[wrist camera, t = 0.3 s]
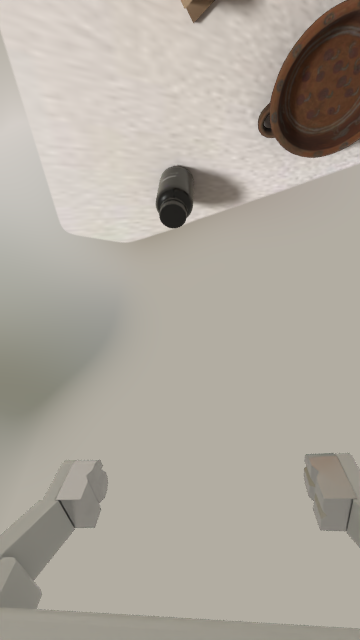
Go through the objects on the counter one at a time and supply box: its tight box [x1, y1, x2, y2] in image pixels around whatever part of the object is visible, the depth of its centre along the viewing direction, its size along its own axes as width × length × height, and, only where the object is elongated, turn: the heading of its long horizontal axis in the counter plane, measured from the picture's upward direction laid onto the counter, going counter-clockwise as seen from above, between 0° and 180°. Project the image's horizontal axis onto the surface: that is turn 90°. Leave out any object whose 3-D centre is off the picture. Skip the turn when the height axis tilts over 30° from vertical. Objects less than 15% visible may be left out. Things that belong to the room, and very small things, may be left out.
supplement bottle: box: [156, 166, 194, 228], centre depth 51 cm, size 7×7×12 cm
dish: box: [258, 0, 360, 158], centre depth 40 cm, size 17×22×5 cm
